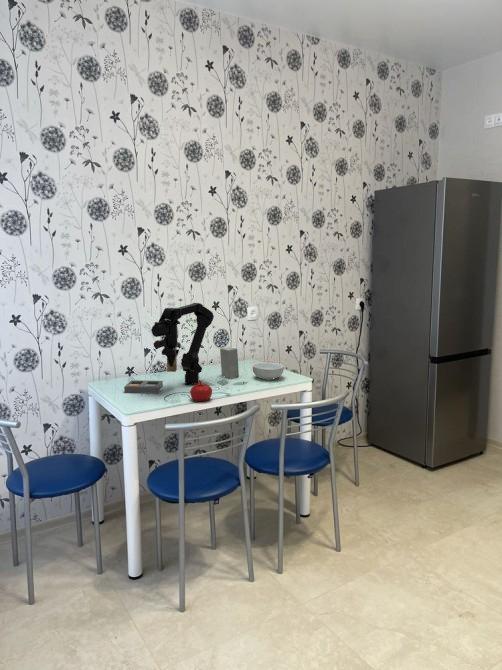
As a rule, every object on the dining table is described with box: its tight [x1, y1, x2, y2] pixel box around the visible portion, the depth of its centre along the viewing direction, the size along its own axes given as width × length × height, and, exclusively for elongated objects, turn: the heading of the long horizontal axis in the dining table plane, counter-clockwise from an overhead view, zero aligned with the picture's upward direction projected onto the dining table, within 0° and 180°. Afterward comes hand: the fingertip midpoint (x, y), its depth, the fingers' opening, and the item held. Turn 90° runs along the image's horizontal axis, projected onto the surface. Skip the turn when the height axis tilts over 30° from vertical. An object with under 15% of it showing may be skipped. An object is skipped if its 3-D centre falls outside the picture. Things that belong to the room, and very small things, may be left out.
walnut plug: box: [166, 354, 178, 373], centre depth 246 cm, size 4×4×9 cm
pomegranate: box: [189, 379, 213, 402], centre depth 231 cm, size 10×10×9 cm
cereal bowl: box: [252, 361, 285, 380], centre depth 271 cm, size 17×17×7 cm
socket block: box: [123, 379, 164, 394], centre depth 247 cm, size 16×12×3 cm
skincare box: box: [219, 346, 240, 379], centre depth 273 cm, size 8×7×16 cm
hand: (171, 365), depth 246 cm, fingers closed on walnut plug, 4 cm apart
